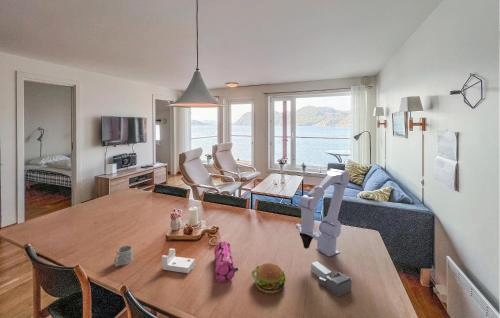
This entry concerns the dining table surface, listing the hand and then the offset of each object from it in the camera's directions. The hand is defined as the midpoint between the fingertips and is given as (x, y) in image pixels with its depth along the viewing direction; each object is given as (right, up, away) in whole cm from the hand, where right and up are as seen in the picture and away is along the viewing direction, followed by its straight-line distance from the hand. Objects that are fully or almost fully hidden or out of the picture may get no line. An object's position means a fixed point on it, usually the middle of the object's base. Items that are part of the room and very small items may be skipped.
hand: (306, 247), depth 112 cm
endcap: (+9, -11, -15) cm, 21 cm away
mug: (-89, -9, +2) cm, 90 cm away
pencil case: (-39, -9, -2) cm, 40 cm away
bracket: (-61, -9, -2) cm, 61 cm away
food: (-19, -11, -13) cm, 26 cm away
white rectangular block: (+5, -10, -7) cm, 13 cm away
